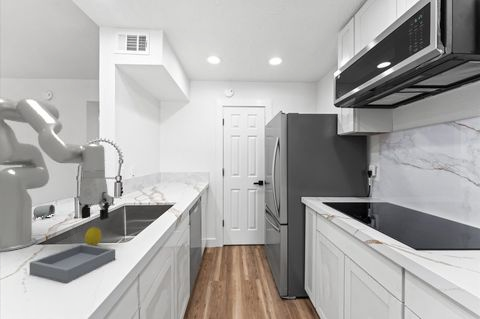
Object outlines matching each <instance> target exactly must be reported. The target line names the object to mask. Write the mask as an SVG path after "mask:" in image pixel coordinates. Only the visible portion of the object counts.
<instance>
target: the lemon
mask: <svg viewBox="0 0 480 319" xmlns="http://www.w3.org/2000/svg"><path fill="white" fill-rule="evenodd" d="M101 240H102V231H101V229H99V227H95V226H91V227H90V228H89V229H87V230H86V233H85V235H84V241H85V244H86V245H92V246H97V245H99V243H100V242H101Z"/></svg>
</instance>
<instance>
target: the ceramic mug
mask: <svg viewBox="0 0 480 319" xmlns="http://www.w3.org/2000/svg"><path fill="white" fill-rule="evenodd" d="M55 211H56V209H55V205H54V204H47V205H46V204H45V205H44V204H43V205H37V206H35V207H34V209H33V211H32V215H33V219H34V218H35V217H41V218H44V217H47V216H49V215H51V214H54V215H55ZM42 216H43V217H42ZM44 219H45V218H44Z"/></svg>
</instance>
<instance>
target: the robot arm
mask: <svg viewBox="0 0 480 319" xmlns="http://www.w3.org/2000/svg"><path fill="white" fill-rule="evenodd" d="M59 118H60V112H59V110H58V108H57V107H56V106H55V105H53V104H51V103H48V102H44V101H41V100H39V99H34V98H28V97H27V98H22V99H20V100H18V101H17V100H16V101H15V100H12V99H9V98H4V97H1V96H0V166H12V167H6V168H3V169H1V170H0V252H10V251H14V250H19V249H23V248H27V247H30V246H32V245H34V244H36V242H37V238H35V237H32V234H33V233H32V228H33V226H32V224H33V221H32V220H33V218H32V217H33V216H32V215H33V204H32V203H33V202H32V197H31V194H29V192H28V190H33V189H40V188H43V187H45V186H46V185H47V184H48V183H49V182H50V181H49V180H50V173H49V171H48V170H49V169H48V167H47V164H46V162H45V159H44V157H43V154H42V152H41V150H42V151H43V153H44V154H46V155H47V156H48V157H49V158H50V159H51V160H53V161H54V162H56V163H58V164H82V179H81V182H80V187H79V196H78V197H77V201H78V204H79V207H80V209H81V219H82V220H83V219H88V218H90V217H91V207H90V206H97V205H98V206H99V207H100V209H99V220H101V221H103V220H106V219H109V209H110V206H111V205H112V201H113V200H114V199H113V197H112V196H111V195H109V194H108V193H109V192H108V183H107V179H106V171H105V170H106V163H105V162H106V160H105V147H104V145H103V144H99V143H98V144H96V143H89V144H86V143H85V144H84V145H82V144H73V143H65V142H64V141H63V140H62V139H61V138H59V136H58V134H59V133H60V132H61V131H62V129H63V125H62V124H63V123H62V122H61V121H59ZM5 120H6V121H11V122H16V123H17V122H18V123H21V124H22V123H24V124H29V126H30V127H31V128H32V129H33V130H34V131H35V132H36V133H37V134H38V135H37V141H38V145H39V147H40V149H41V150H40V149H39V148H38V147H37V146H36V145H34V144H30V143H22V142H19V140H18V139H17V137H16V133H15V132H14V130H13V129H12V127H11V126H10V125H9V124H8V123H7V122H5Z"/></svg>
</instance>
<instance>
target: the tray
mask: <svg viewBox="0 0 480 319" xmlns="http://www.w3.org/2000/svg"><path fill="white" fill-rule="evenodd" d="M115 260H116V248H110V247H103V246H97V245H95V246H92V245H87V244H86V243H80V244H78V245H75V246H72V247H70V248H66V249H64V250H60V251H58V252H54V253H52V254H49V255H45V256H44V257H41V258H38V259H34V260H33V261H30V262H29V275H32V276H37V277H40V278H45V279H47V280H52V281H53V280H54V281H56V282H61V283H65V284H68V283H70V282H72V281H74V280H76V279H78V278H80V277H82V276H85V275H86V274H88V273H90V272H91V273H92V271H94V270H97V269H99V268H101V267H102V266H105V265H107V264H109V263H112V262H114V261H115Z"/></svg>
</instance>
